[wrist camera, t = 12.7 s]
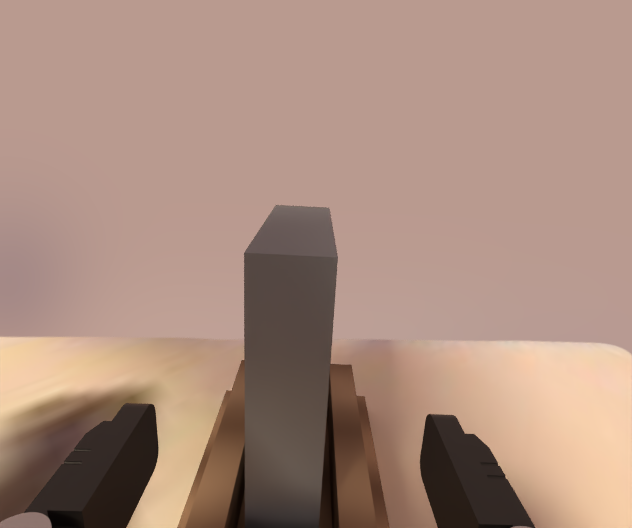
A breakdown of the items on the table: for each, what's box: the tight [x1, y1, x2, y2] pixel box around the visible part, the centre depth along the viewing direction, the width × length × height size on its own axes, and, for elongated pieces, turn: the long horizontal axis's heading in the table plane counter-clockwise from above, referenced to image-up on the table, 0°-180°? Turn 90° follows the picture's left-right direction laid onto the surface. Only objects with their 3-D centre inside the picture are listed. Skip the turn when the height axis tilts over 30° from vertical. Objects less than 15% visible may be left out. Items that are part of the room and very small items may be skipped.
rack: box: [177, 360, 389, 528], centre depth 21 cm, size 15×10×4 cm, turn 0°
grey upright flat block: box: [244, 205, 338, 528], centre depth 20 cm, size 10×3×14 cm, turn 0°
